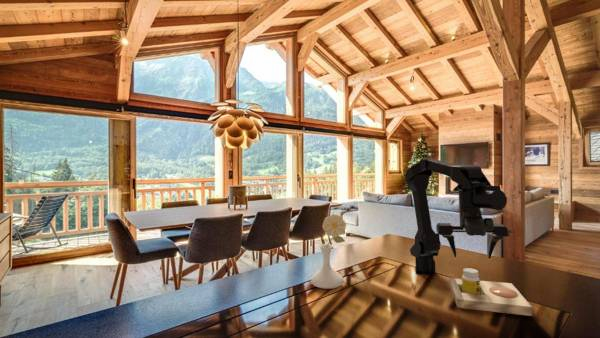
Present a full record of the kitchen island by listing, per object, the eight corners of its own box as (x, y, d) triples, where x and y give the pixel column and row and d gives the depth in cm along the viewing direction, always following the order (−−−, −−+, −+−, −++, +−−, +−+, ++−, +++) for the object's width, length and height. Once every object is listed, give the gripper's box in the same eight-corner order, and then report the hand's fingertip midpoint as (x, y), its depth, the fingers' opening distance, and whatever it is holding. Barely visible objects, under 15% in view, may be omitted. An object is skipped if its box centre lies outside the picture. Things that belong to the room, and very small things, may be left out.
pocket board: (457, 307, 87) (457, 298, 87) (449, 285, 102) (449, 277, 102) (532, 316, 81) (532, 306, 81) (511, 291, 96) (511, 283, 96)
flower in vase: (306, 289, 102) (304, 216, 101) (316, 277, 112) (314, 210, 112) (344, 294, 97) (342, 217, 97) (351, 281, 108) (349, 211, 107)
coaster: (492, 296, 88) (492, 295, 88) (486, 286, 94) (486, 285, 94) (521, 298, 85) (521, 297, 85) (512, 288, 92) (512, 287, 92)
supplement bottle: (479, 302, 89) (479, 274, 89) (461, 298, 92) (461, 271, 92) (480, 296, 93) (479, 269, 93) (462, 292, 96) (462, 266, 96)
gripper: (440, 210, 87) (442, 264, 87) (515, 210, 82) (517, 267, 82) (435, 205, 98) (437, 253, 98) (501, 205, 93) (503, 256, 92)
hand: (471, 257), depth 92 cm, fingers open, 9 cm apart
